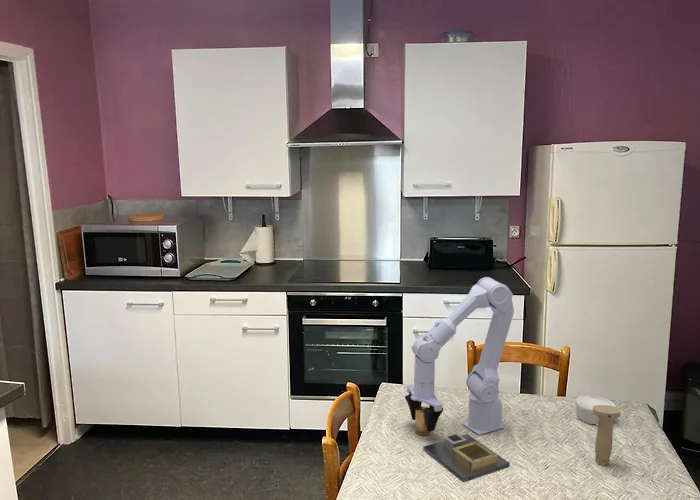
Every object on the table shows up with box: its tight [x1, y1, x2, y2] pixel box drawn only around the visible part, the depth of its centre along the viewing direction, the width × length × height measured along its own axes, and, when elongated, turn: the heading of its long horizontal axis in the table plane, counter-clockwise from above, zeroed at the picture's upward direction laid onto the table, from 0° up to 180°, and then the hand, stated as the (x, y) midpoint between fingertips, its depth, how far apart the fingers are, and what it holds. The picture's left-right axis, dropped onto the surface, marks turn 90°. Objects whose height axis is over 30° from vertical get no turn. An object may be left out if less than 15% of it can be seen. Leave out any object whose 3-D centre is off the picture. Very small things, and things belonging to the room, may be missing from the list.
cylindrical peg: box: [414, 405, 432, 438], centre depth 163 cm, size 4×4×7 cm
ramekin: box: [574, 394, 617, 425], centre depth 172 cm, size 11×11×5 cm
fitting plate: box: [422, 432, 511, 483], centre depth 150 cm, size 15×17×4 cm
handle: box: [593, 405, 622, 467], centre depth 146 cm, size 5×6×15 cm
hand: (423, 424), depth 163 cm, fingers open, 7 cm apart
